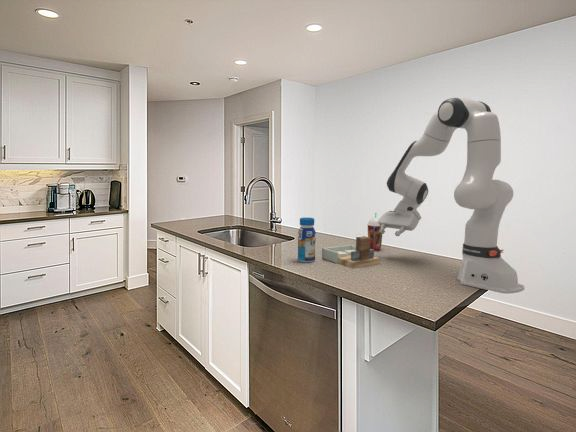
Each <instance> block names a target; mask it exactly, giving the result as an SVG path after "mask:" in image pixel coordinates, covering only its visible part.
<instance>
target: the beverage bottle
mask: <svg viewBox="0 0 576 432" xmlns="http://www.w3.org/2000/svg"><path fill="white" fill-rule="evenodd" d="M299 226H300V228H299V229H298V231H297V232H298V233H297V234H298V236H297V261H298V262H301V263H313V262H315V261H316V240H317V238H316V234H317V232H316V229H315V228H314V226H315V218H314V217H300V218H299Z"/></svg>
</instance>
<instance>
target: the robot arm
mask: <svg viewBox="0 0 576 432" xmlns="http://www.w3.org/2000/svg"><path fill="white" fill-rule="evenodd" d="M457 129H464V130H465V131H466V133H467V134H466V135H467V136H466V137H467V140H466V141H467V142H466V149H467V151H466V155H467V156H466V158H467V159H466V167H465V171H464V173H463V177H462V179H461V181H460V182H459V183H458V184H457V185H456V187H455V188H454V192H453V198H454V201H455V202H456V204H457V205H458V207H461V208H464V209H469V210H473V212H472V215H471V216H470V218H469V219H468V220H467V221H466V223H465V227H464V242H463V243H462V253H461V254H462V261H461V265H460V269H459V273H458V274H457V276H456V279H457V280H458V281H459V283H460V284H461V285H463V286H464V285H465V286H469V287H474V288H478V289H481V290H487V291H491V292H494V293H500V294H504V295H505V294H508V295H509V294H515V293H520V292H523V291H525V285H523V284H522V283H519V277H518V272H517V271H516V269H515V268H513V266H511V265H510V264H509V263H508V262H507V261H506V260H504V259H503V257H502V255H501V254H502V253H504V249H500V248H499V246H498V235H499V227H500V222H501V220H502V218H503V214H504V212H505V210H506V207H507V206H508V205H509V203H510V202H511V201H513V197H514V190H513V187H512V186H511V184H509V183H508V182H506V181H503V180H500V179H493V178H494V174H495V171H496V169H497V167H498V166H499V165H500V164H501V162H502V155H501V153H502V148H501V147H502V141H501V140H502V139H501V138H502V136H501V128H500V122H499V118H498V115H497V114H495V113H494V112H492V110H491V107H490V106H489V105H488V104H487V103H485V102H483V101H480V100H473V99H471V98H458V97H451V98H450V97H449V98H447V99H445V100H444V101H442V103H441V104H440V105H439V107H438V109H437V110H436V111H435V112H434V113H433V115H432V116H431V118H430V119H429V121H428V123H427V125H426V127H425V130H424V132H423V134H422V135H421V137H420V138H419V139H418V140H414V141H412V143H410V145H409V146H408V147H407V149H406V150H405V152H404V154H403V155H402V157H401V159H400V160H399V162H398V163H397V165H396V167H395V168H394V170H393V171H392V172H391V174H390V175H389V177H388V178H387V179H386V187H387V189H388V190H389V192H392V193H395V194H397V195H399V196H402V199H401V200H400V201H399V202H398V204H397V205H396V206H395V208H394V209H393V210H388V211H386V212H383V214H382V215H381V216H380V218H378V219H379V220H378V223H379V225H380V226H381V230H380V233H381V234H382V235H383V234H385V233H386V229H387V228H389V229H395V230H396V231H395V233H394V236H395V237H400V236H401V234H404V233H405V231H413V230H415V229H416V228H417V226H418V225H419V223H420V221H421V220H422V216H421V214H420V212H419V211H418V210H417V209H418V208H419V207H420V206H421V205H422V203H424V201H425V200H426V199H427V197H428V194H429V188H428V185H427V183H426V182H425V181H422V180H420V179H418V178H416V177H413V176H411V175H408V174H406V171H407V168H408V167H409V165H410V164H411V162H412V161H413V159H414V158H415V157H434V156H439V155H441V154H442V153H443V152H445V150H446V149H447V148H448V145H449V144H450V141H451V140H452V136H453V134H454V132H455V131H456V130H457Z"/></svg>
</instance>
